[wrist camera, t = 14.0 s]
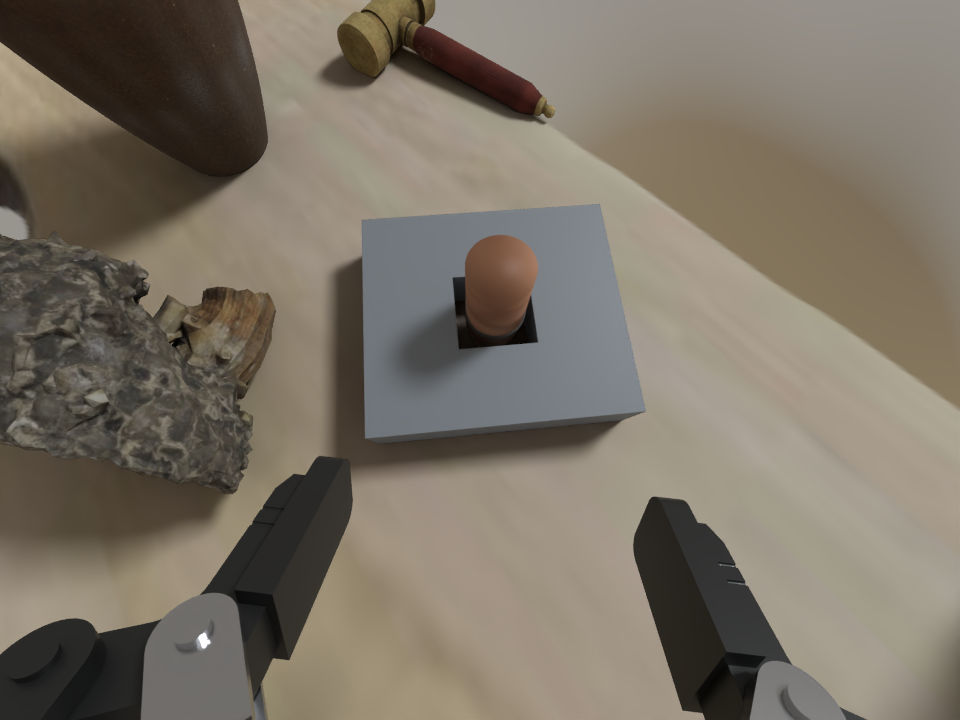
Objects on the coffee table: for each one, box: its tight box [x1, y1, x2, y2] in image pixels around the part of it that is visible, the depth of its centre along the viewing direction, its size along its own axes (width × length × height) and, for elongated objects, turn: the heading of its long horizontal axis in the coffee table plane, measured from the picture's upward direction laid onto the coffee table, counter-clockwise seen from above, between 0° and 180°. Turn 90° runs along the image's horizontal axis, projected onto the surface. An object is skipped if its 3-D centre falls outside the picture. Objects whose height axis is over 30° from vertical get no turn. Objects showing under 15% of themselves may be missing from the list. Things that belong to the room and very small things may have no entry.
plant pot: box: [0, 0, 268, 176], centre depth 28 cm, size 15×15×16 cm
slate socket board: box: [362, 204, 646, 444], centre depth 29 cm, size 18×16×4 cm
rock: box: [0, 231, 276, 494], centre depth 22 cm, size 18×14×15 cm
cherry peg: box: [465, 235, 538, 348], centre depth 26 cm, size 4×4×10 cm
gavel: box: [337, 0, 555, 118], centre depth 38 cm, size 21×5×10 cm
